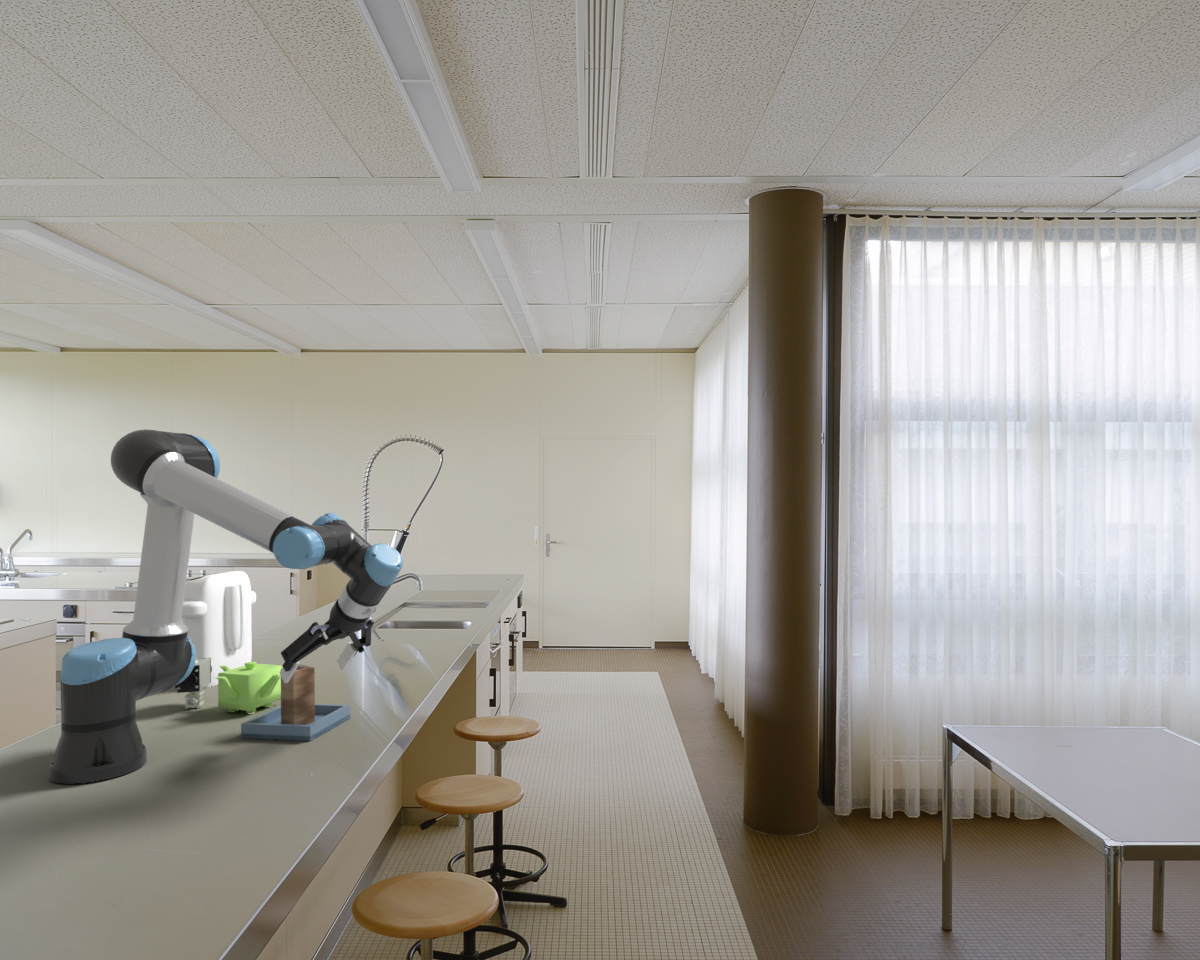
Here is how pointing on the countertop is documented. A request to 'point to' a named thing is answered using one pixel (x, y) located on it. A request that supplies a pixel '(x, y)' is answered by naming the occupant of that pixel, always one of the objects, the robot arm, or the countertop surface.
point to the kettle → (249, 686)
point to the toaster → (220, 619)
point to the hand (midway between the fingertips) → (313, 671)
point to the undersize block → (298, 697)
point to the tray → (273, 729)
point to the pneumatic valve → (196, 683)
